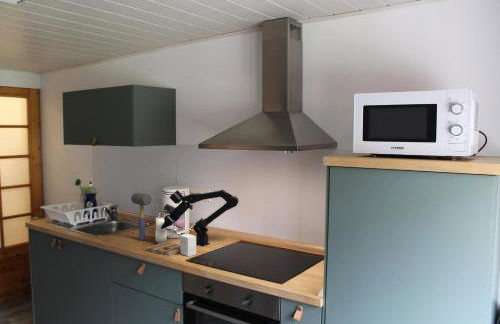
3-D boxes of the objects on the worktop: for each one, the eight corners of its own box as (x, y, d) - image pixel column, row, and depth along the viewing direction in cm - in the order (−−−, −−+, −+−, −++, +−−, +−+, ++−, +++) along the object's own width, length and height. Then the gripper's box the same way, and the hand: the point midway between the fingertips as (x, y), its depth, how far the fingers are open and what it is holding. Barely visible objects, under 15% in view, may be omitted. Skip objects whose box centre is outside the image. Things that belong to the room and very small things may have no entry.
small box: (196, 254, 224) (196, 236, 224) (187, 256, 221) (187, 237, 220) (188, 251, 230) (188, 233, 230) (180, 253, 227) (179, 235, 226)
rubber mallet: (153, 240, 255) (152, 193, 253) (143, 243, 249) (143, 194, 247) (140, 237, 262) (139, 191, 260) (131, 240, 256) (130, 192, 254)
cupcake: (179, 231, 279) (178, 217, 278) (189, 233, 275) (189, 218, 274) (171, 234, 271) (170, 219, 270) (181, 236, 267) (181, 221, 266)
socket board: (187, 249, 234) (187, 246, 234) (168, 256, 221) (168, 252, 221) (165, 245, 244) (165, 242, 244) (146, 251, 232) (146, 247, 231)
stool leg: (169, 243, 248) (168, 217, 247) (160, 245, 243) (160, 219, 242) (161, 241, 252) (160, 216, 251) (153, 244, 247) (152, 218, 246)
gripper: (175, 197, 255) (158, 214, 256) (167, 202, 236) (149, 220, 238) (187, 210, 255) (170, 227, 256) (180, 216, 236) (162, 234, 237)
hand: (163, 226), depth 247 cm, fingers open, 9 cm apart
